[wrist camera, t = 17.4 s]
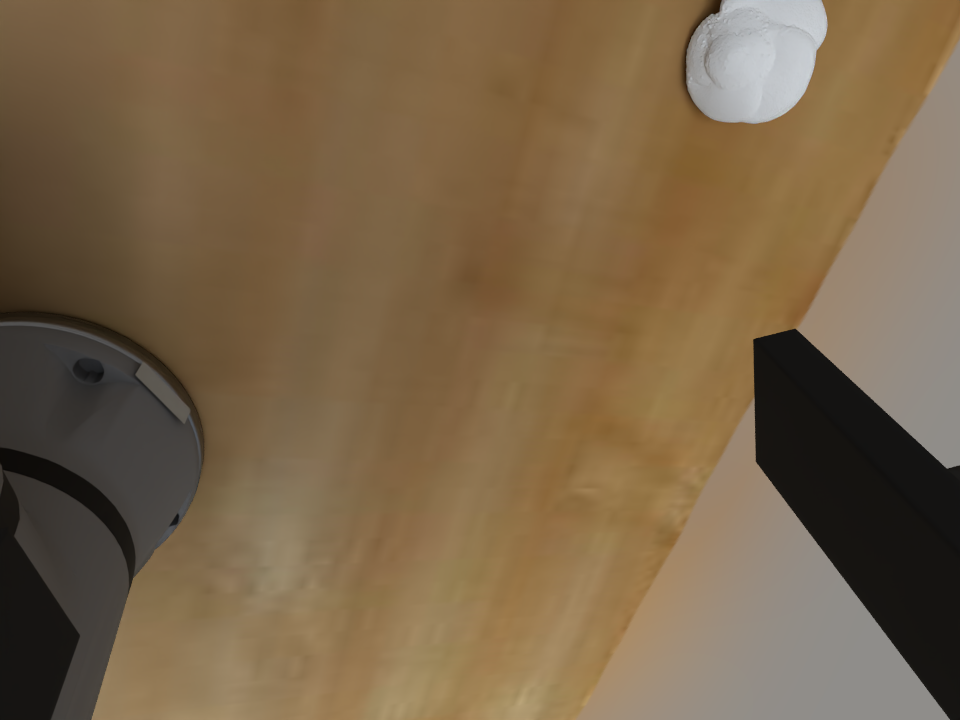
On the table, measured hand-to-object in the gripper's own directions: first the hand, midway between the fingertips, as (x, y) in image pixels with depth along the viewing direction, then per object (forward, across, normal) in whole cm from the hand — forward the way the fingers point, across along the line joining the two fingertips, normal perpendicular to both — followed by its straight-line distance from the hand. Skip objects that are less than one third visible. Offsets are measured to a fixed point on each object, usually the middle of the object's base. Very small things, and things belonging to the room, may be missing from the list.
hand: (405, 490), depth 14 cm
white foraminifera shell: (+27, +18, 0) cm, 32 cm away
